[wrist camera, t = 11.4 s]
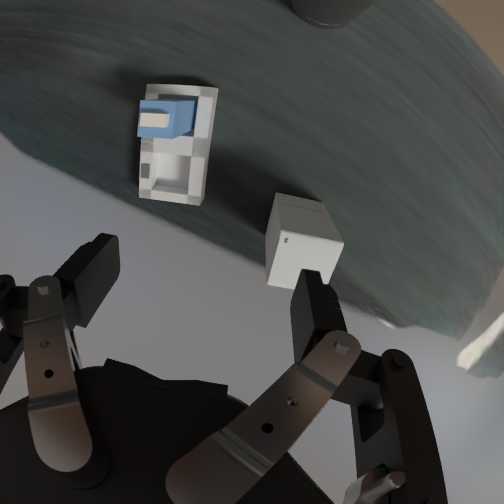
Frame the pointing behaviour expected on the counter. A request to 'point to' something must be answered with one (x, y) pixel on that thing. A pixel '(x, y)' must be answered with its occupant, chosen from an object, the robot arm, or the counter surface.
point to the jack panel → (178, 150)
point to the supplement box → (300, 241)
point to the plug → (166, 118)
